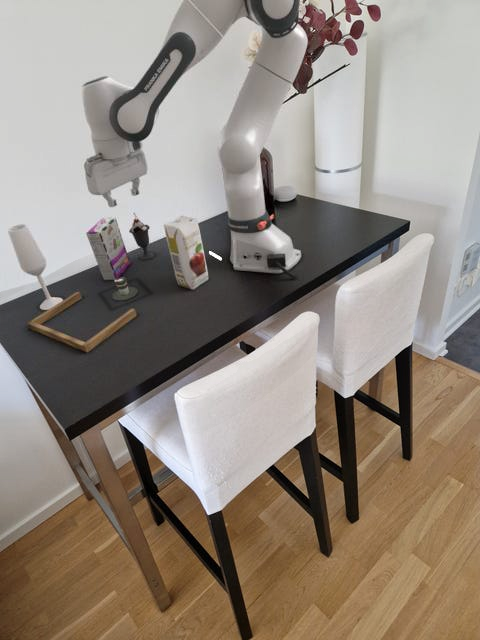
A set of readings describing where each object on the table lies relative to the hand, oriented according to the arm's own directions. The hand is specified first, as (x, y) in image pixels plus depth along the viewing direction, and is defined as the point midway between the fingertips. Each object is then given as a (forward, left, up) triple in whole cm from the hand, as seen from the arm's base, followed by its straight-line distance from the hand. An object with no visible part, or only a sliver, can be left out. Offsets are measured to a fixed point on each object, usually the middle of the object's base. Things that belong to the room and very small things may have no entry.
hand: (124, 200), depth 120 cm
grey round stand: (-1, +11, -25) cm, 27 cm away
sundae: (+10, -10, -25) cm, 28 cm away
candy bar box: (+12, +2, -25) cm, 27 cm away
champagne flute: (+17, +24, -25) cm, 38 cm away
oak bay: (-1, +26, -24) cm, 36 cm away
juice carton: (-17, -2, -25) cm, 30 cm away
